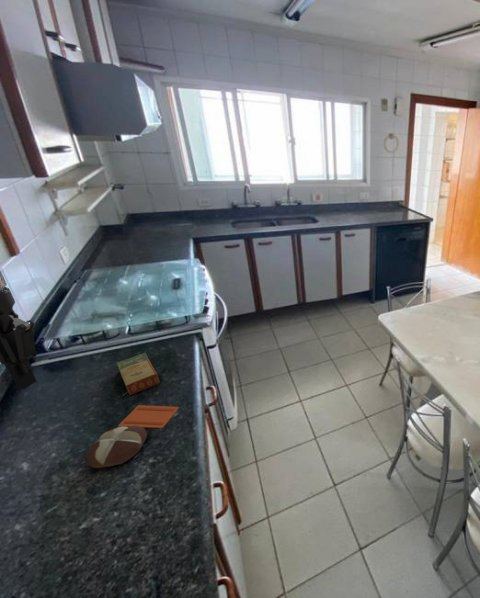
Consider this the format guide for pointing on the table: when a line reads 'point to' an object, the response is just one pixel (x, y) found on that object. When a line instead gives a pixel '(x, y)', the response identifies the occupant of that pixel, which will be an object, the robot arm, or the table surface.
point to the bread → (116, 446)
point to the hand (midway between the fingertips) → (27, 384)
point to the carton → (138, 373)
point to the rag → (149, 416)
